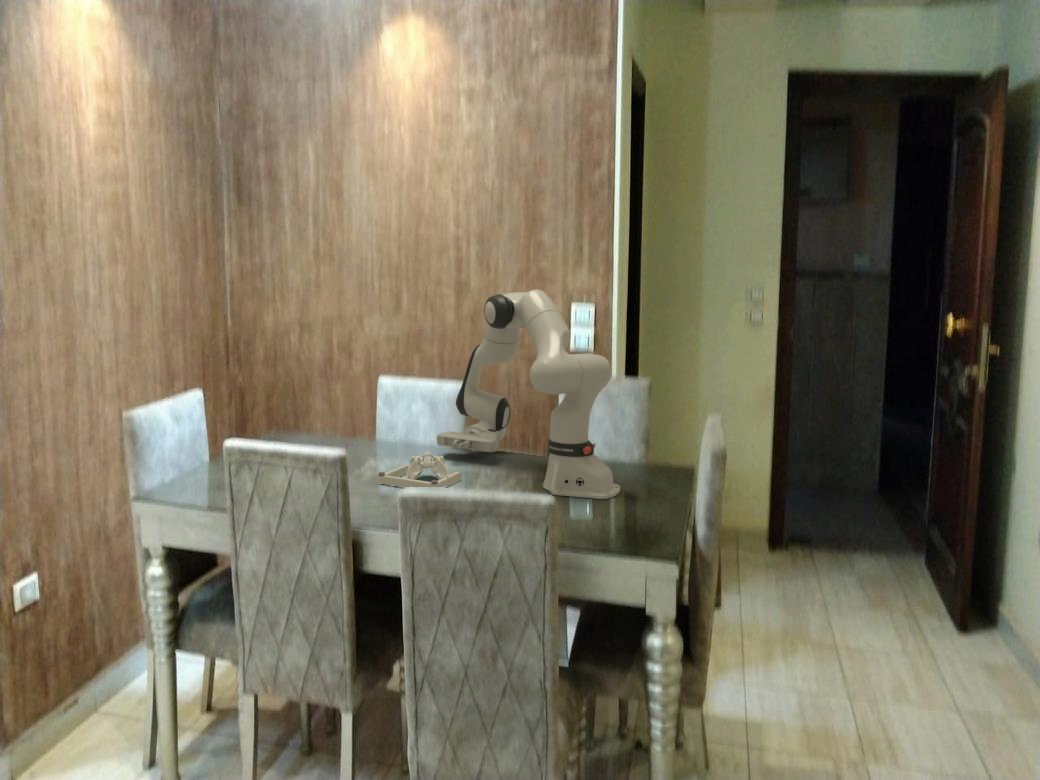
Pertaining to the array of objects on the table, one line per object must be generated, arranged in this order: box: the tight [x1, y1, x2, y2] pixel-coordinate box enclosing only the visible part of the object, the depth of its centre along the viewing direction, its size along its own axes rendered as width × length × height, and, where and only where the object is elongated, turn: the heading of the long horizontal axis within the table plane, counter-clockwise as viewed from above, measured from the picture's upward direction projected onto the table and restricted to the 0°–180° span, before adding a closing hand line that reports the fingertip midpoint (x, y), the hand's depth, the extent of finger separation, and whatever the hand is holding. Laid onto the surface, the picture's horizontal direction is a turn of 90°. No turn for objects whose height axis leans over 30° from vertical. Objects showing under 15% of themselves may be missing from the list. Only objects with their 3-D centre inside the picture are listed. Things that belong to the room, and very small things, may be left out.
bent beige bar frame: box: [377, 463, 462, 489], centre depth 265 cm, size 19×16×3 cm
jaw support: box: [406, 450, 450, 481], centre depth 267 cm, size 12×9×10 cm
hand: (456, 446), depth 284 cm, fingers closed
